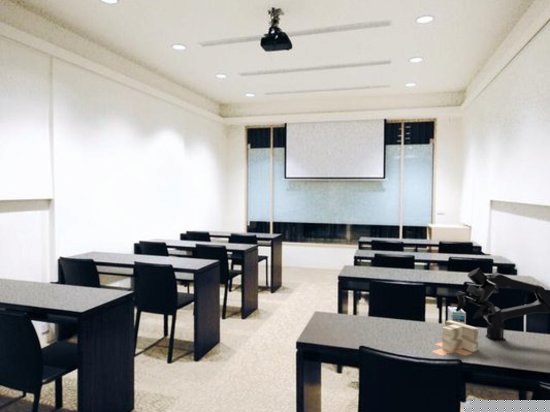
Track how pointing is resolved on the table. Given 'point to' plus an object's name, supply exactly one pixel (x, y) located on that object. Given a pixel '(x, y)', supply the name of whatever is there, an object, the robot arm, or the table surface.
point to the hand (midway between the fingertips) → (464, 314)
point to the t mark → (444, 352)
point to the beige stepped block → (459, 337)
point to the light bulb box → (456, 315)
